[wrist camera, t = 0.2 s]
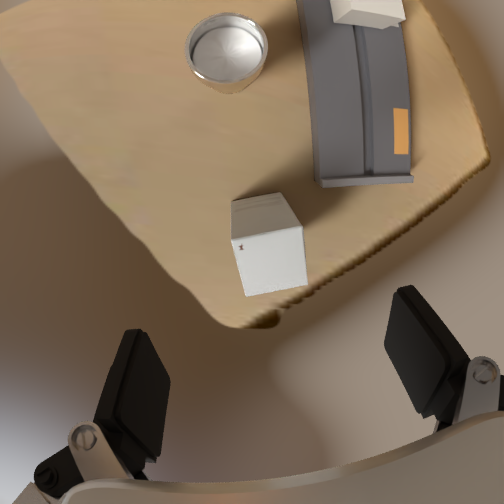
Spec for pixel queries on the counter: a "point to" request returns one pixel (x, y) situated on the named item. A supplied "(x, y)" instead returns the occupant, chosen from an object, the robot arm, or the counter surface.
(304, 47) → the fader board
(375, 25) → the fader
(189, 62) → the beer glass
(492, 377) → the robot arm
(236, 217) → the supplement box
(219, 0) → the counter surface
